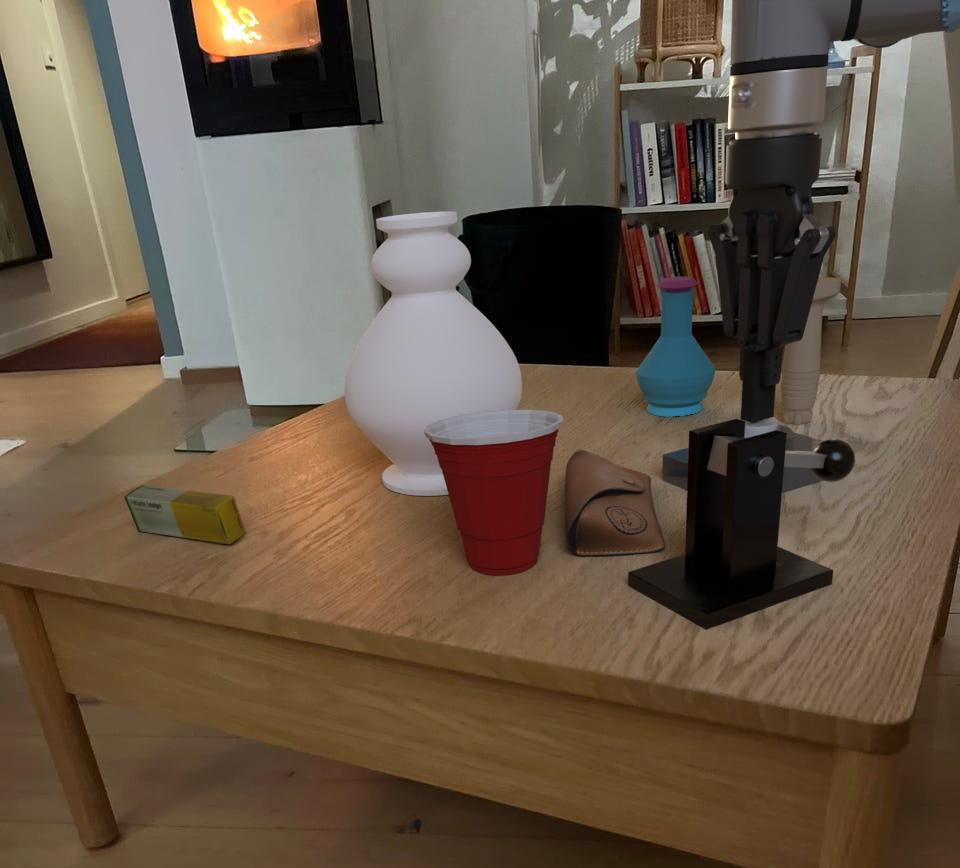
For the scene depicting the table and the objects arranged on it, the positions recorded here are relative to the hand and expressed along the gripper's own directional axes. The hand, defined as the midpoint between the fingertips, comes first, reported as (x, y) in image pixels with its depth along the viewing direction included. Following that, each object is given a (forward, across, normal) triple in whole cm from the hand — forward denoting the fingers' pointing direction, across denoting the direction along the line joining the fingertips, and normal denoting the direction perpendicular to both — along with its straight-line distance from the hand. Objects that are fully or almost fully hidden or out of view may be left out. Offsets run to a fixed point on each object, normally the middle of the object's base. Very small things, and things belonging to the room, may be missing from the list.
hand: (757, 417), depth 88 cm
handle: (+6, -11, +16) cm, 21 cm away
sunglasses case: (+6, 0, -16) cm, 17 cm away
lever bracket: (+6, +17, -18) cm, 25 cm away
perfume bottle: (+6, -24, +10) cm, 27 cm away
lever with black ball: (-1, +17, -13) cm, 21 cm away
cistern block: (+6, 0, 0) cm, 6 cm away
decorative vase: (+6, -21, -23) cm, 32 cm away
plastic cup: (+6, +2, -29) cm, 30 cm away
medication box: (+6, -22, -50) cm, 55 cm away
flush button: (+2, 0, 0) cm, 2 cm away
